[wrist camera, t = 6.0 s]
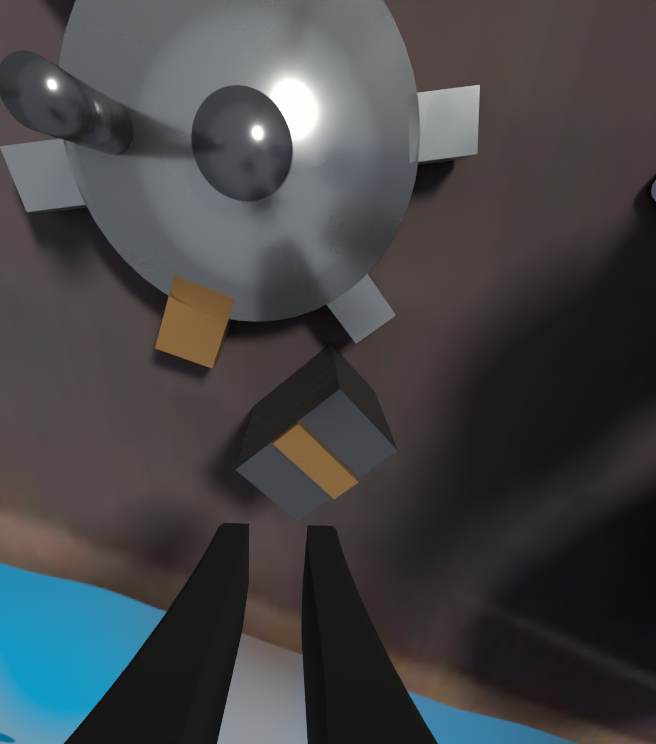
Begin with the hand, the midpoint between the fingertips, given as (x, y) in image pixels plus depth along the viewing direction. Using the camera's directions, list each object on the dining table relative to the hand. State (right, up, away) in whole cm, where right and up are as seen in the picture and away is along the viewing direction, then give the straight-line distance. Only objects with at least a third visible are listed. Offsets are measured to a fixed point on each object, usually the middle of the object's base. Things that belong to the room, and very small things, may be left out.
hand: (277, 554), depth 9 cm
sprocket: (-2, +13, +4) cm, 13 cm away
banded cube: (+1, +3, +9) cm, 10 cm away
